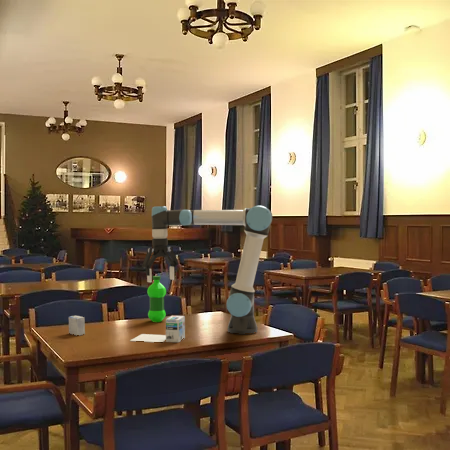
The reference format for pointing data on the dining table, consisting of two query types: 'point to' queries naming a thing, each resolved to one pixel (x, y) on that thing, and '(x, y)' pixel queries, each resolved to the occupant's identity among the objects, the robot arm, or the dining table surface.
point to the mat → (150, 338)
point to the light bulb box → (175, 328)
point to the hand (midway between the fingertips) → (161, 281)
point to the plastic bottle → (156, 300)
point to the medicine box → (76, 325)
